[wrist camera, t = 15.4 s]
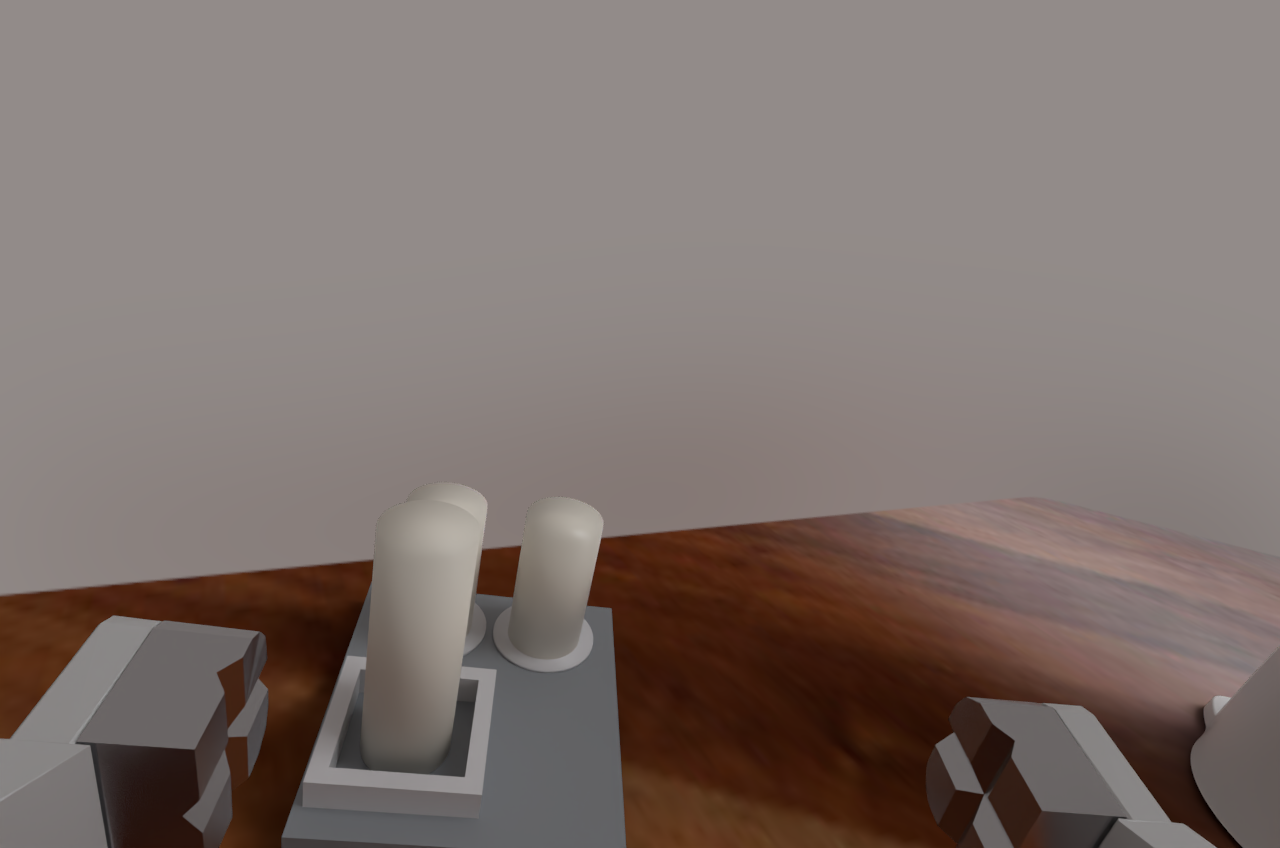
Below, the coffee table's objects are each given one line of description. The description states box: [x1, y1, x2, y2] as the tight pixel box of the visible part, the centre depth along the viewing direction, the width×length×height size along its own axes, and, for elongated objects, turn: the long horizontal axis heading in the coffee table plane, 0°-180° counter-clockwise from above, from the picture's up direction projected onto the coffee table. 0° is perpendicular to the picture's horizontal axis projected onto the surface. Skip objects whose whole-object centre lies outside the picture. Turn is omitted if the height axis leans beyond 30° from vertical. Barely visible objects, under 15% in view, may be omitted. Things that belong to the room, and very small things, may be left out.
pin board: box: [281, 482, 626, 848], centre depth 39 cm, size 14×16×10 cm
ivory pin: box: [360, 500, 480, 774], centre depth 34 cm, size 4×4×12 cm
